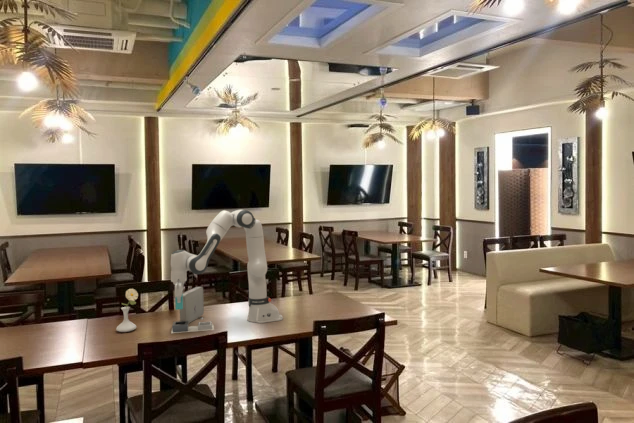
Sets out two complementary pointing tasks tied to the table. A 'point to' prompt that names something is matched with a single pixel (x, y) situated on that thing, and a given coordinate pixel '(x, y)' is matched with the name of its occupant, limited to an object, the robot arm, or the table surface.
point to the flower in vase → (127, 324)
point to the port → (180, 326)
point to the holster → (204, 325)
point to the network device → (192, 305)
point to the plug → (179, 305)
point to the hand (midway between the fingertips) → (179, 301)
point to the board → (193, 329)
